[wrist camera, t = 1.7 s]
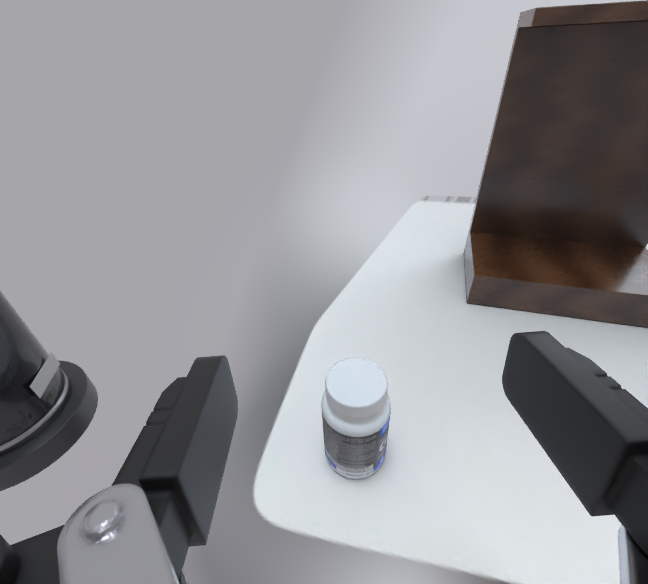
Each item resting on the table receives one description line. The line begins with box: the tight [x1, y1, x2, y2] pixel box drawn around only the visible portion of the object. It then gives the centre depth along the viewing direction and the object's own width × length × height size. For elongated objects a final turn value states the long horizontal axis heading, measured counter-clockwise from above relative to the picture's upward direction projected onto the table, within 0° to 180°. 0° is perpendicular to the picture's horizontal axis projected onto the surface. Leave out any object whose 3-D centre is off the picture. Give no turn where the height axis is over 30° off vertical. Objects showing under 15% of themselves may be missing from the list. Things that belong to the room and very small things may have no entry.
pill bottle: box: [322, 358, 391, 479], centre depth 24 cm, size 5×5×8 cm
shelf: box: [464, 0, 648, 328], centre depth 34 cm, size 20×12×27 cm, turn 73°
